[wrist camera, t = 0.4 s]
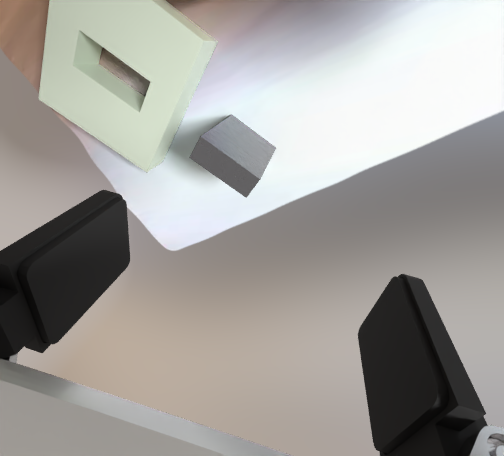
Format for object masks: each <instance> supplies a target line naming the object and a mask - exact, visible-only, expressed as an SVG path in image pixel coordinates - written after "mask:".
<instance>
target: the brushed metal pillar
mask: <svg viewBox="0 0 504 456" xmlns="http://www.w3.org/2000/svg"><path fill="white" fill-rule="evenodd" d="M275 149H276V147H274V146H273V145H272V144H270V143H269V142H268V141H266V140H265V139H264V138H262V137H261V136H260V135H258V134H257V133H256V132H254V131H253V130H252V129H250V128H249V127H248V126H246V125H245V124H244V123H242V122H241V121H240V120H238V119H237V118H236V117H234V116H233V115H230V116H229V117H228V118H226V119H225V120H223V121H222V122H220V123H219V124H217V125H216V126H215V127H213V128H212V129H210V130H209V131H207V132H206V133H205V134H203V135H202V136H200V138H199V140H198V142H197V144H196V146H195V148H194V150H193V152H192V154H191V155H190V157H189V158H191V159H192V160H193V161H195V162H196V163H198V164H199V165H201V166H202V167H203V168H205V169H206V170H208V171H209V172H210V173H212V174H213V175H215V176H216V177H218V178H219V179H220V180H222V181H223V182H225V183H226V184H228V185H229V186H230V187H232V188H233V189H235V190H236V191H237V192H239V193H240V194H242V195H243V196H245V197H247V196H248V195H249V193H250V192H251V191H252V189H253V188H254V187H255V185H256V184H257V183H258V181H259V180H260V179H261V177H262V175H263V173H264V171H265V169H266V167H267V165H268V163H269V161H270V159H271V157H272V155H273V153H274V151H275Z"/></svg>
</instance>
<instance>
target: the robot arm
mask: <svg viewBox="0 0 504 456" xmlns="http://www.w3.org/2000/svg"><path fill="white" fill-rule="evenodd" d="M129 262H130V251H129V235H128V221H127V205H126V201H125V200H123V198H122V196H121V195H120V194H117V193H113V192H110V191H106V190H102V191H99V192H98V193H96V194H94V195H93V196H91V197H89V198H88V199H86V200H84V201H83V202H81V203H79V204H78V205H76V206H75V207H73V208H71V209H69V210H68V211H66V212H64V213H63V214H61V215H60V216H58V217H56V218H54V219H53V220H51V221H49V222H48V223H46V224H44V225H43V226H41V227H39V228H38V229H36V230H35V231H33V232H31V233H29V234H28V235H26V236H24V237H23V238H21V239H19V240H18V241H17V242H14V243H13V244H11V245H10V246H8V247H6V248H5V249H3V250H1V251H0V456H292V455H290V454H287V453H284V452H281V451H278V450H275V449H272V448H269V447H266V446H264V445H261V444H258V443H255V442H252V441H249V440H246V439H243V438H240V437H237V436H234V435H231V434H228V433H225V432H222V431H219V430H216V429H213V428H210V427H207V426H204V425H201V424H198V423H195V422H192V421H189V420H186V419H183V418H180V417H177V416H174V415H171V414H168V413H165V412H162V411H159V410H156V409H153V408H150V407H147V406H144V405H141V404H138V403H135V402H132V401H129V400H126V399H124V398H120V397H117V396H114V395H111V394H108V393H105V392H102V391H99V390H96V389H93V388H90V387H87V386H84V385H81V384H78V383H75V382H72V381H69V380H66V379H63V378H60V377H56V376H54V375H51V374H47V373H44V372H41V371H38V370H35V369H32V368H29V367H26V366H23V365H20V364H16V362H17V354H18V352H19V351H20V350H21V349H22V348H23V347H24V346H25V347H26V348H28V349H31V350H34V351H37V352H40V353H43V352H44V351H45V350H46V349H47V348H48V347H49V346H50V345H51V344H55V343H57V342H58V341H59V340H60V339H61V338H62V337H63V336H64V335H65V334H66V333H67V332H68V331H69V330H70V329H71V327H72V326H73V325H74V324H75V323H76V322H77V321H78V320H79V319H80V318H81V317H82V316H83V314H84V313H85V312H86V311H87V310H88V309H89V308H90V307H91V306H92V305H93V304H94V302H95V301H96V300H97V299H98V298H99V297H100V296H101V295H102V294H103V293H104V292H105V291H106V290H107V288H108V287H109V286H110V285H111V284H112V283H113V282H114V281H115V280H116V279H117V278H118V276H119V275H120V274H121V273H122V272H123V271H124V270H125V269H126V268H127V266H128V264H129ZM358 339H359V347H360V354H361V360H362V368H363V375H364V381H365V388H366V395H367V402H368V409H369V416H370V423H371V430H372V437H373V443H374V446H375V448H376V450H378V451H380V456H504V428H502V427H498V426H494V425H490V426H488V425H487V423H486V421H485V419H484V417H483V416H484V415H485V414H486V412H485V411H484V408H483V406H482V404H481V402H480V400H479V398H478V396H477V393H476V391H475V389H474V387H473V385H472V383H471V381H470V379H469V377H468V375H467V372H466V370H465V368H464V366H463V364H462V362H461V360H460V358H459V355H458V354H457V351H456V349H455V347H454V345H453V343H452V341H451V339H450V337H449V335H448V332H447V331H446V328H445V326H444V324H443V322H442V320H441V318H440V315H439V313H438V311H437V309H436V307H435V305H434V303H433V301H432V299H431V296H430V294H429V292H428V290H427V288H426V286H425V284H424V282H423V280H421V279H419V278H415V277H412V276H408V275H405V274H401V275H399V276H398V277H393V278H392V279H391V281H390V282H389V284H388V285H387V287H386V288H385V290H384V291H383V293H382V294H381V296H380V298H379V299H378V301H377V302H376V304H375V305H374V307H373V308H372V310H371V311H370V313H369V314H368V316H367V317H366V319H365V321H364V322H363V323H362V325H361V327H360V329H359V333H358Z"/></svg>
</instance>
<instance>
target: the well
mask: <svg viewBox="0 0 504 456" xmlns="http://www.w3.org/2000/svg"><path fill="white" fill-rule="evenodd" d="M217 43H218V41H216V40H215V39H214V38H213V37H211V36H210V35H209V34H208V33H206V32H205V31H204V30H203V29H201V28H200V27H199V26H197V25H196V24H195V23H194V22H192V21H191V20H190V19H189V18H187V17H186V16H185V15H184V14H182V13H181V12H180V11H178V10H177V9H176V8H175V7H173V6H172V5H171V4H170V3H168V2H167V1H166V0H50V2H49V11H48V19H47V28H46V37H45V46H44V55H43V64H42V72H41V81H40V90H39V100H41V101H42V102H44V103H45V104H46V105H48V106H49V107H51V108H52V109H54V110H55V111H57V112H58V113H60V114H61V115H63V116H64V117H66V118H67V119H68V120H70V121H71V122H73V123H74V124H76V125H77V126H79V127H80V128H82V129H83V130H85V131H86V132H88V133H89V134H91V135H92V136H94V137H95V138H97V139H98V140H99V141H101V142H102V143H104V144H105V145H107V146H108V147H110V148H111V149H113V150H114V151H116V152H117V153H119V154H120V155H122V156H123V157H125V158H126V159H128V160H129V161H130V162H132V163H133V164H135V165H136V166H138V167H139V168H141V169H142V170H144V171H145V172H149V171H150V170H152V169H153V168H154V167H156V166H157V165H159V164H160V163H162V162H163V160H164V158H165V156H166V154H167V152H168V149H169V147H170V145H171V143H172V141H173V138H174V136H175V134H176V132H177V130H178V128H179V125H180V123H181V121H182V119H183V117H184V115H185V112H186V110H187V108H188V106H189V104H190V102H191V99H192V97H193V95H194V93H195V91H196V88H197V86H198V84H199V82H200V80H201V78H202V75H203V73H204V71H205V69H206V67H207V65H208V62H209V60H210V58H211V56H212V54H213V52H214V49H215V47H216V45H217ZM102 47H104V48H105V49H106V50H108V51H109V52H110V53H112V54H113V55H114V56H116V57H117V58H119V59H120V60H121V61H123V62H124V63H125V64H127V65H128V66H129V67H131V68H132V69H134V70H135V71H136V72H138V73H139V74H140V75H142V76H143V77H144V78H146V79H147V80H149V81H150V85H149V88H148V91H147V94H146V96H145V97H144V96H143V95H141V94H140V93H139V92H137V91H136V90H135V89H133V88H132V87H130V86H129V85H128V84H126V83H125V82H123V81H122V80H121V79H119V78H118V77H117V76H115V75H114V74H112V73H111V72H110V71H108V70H107V69H105V68H104V67H103V66H101V65H100V64H99V60H100V56H101V52H102Z"/></svg>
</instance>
